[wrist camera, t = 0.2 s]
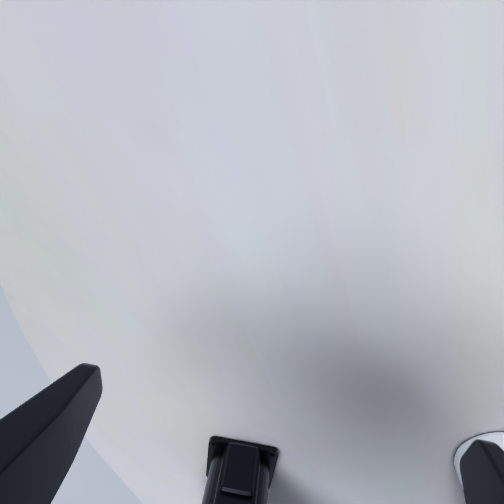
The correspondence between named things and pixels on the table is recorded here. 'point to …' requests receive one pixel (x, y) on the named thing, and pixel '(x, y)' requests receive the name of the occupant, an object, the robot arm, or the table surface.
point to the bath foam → (497, 437)
